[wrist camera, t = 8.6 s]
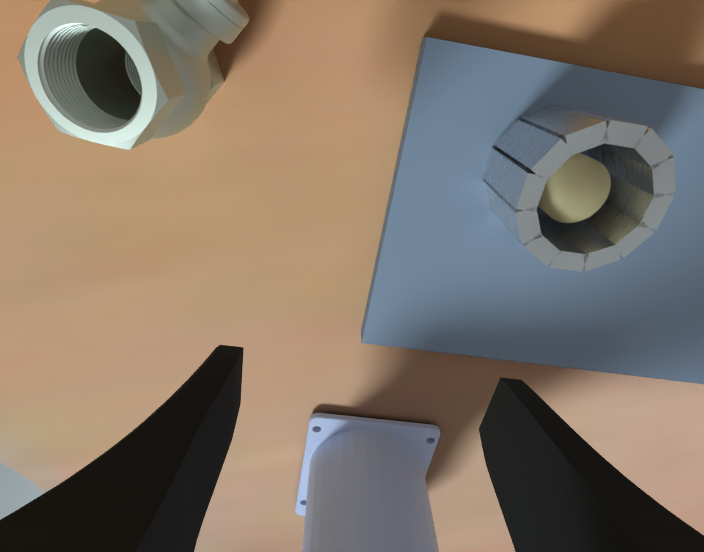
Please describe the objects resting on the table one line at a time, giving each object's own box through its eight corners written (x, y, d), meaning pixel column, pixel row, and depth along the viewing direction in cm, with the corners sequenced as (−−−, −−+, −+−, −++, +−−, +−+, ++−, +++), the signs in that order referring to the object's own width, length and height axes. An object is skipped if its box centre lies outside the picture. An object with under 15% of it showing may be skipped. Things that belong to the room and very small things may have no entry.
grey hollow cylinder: (579, 236, 20) (631, 278, 16) (469, 220, 19) (498, 260, 16) (631, 117, 17) (705, 135, 14) (506, 96, 17) (550, 110, 13)
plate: (763, 380, 25) (830, 435, 22) (360, 331, 23) (364, 382, 20) (957, 138, 19) (1098, 159, 15) (422, 37, 17) (443, 35, 13)
